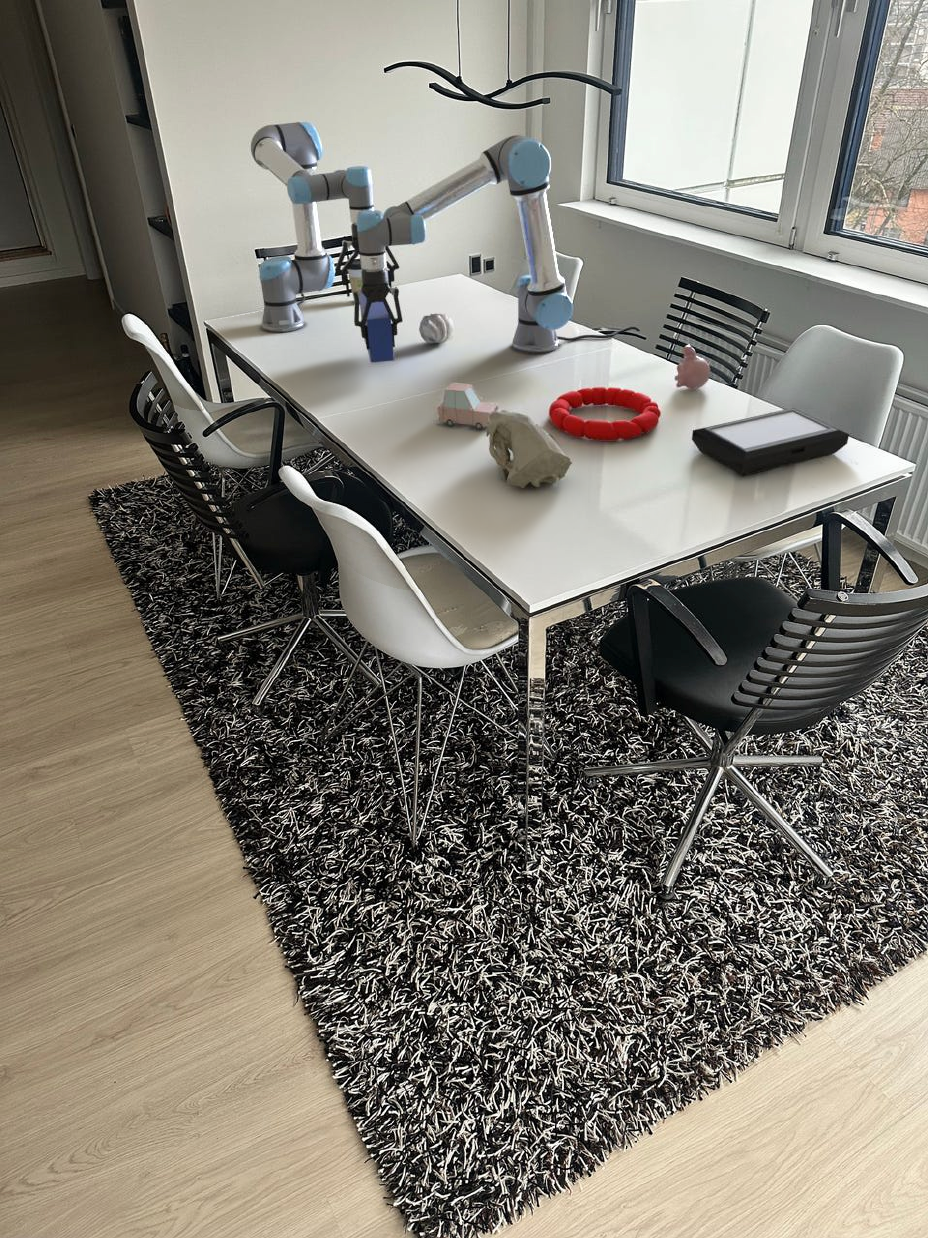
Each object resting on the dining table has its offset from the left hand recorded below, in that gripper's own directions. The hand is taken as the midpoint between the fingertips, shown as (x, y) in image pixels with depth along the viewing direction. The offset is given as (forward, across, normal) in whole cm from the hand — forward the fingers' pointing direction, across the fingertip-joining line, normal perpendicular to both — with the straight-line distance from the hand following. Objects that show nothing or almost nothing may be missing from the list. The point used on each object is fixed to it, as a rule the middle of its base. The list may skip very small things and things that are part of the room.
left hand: (369, 293), depth 286 cm
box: (+14, 0, -12) cm, 18 cm away
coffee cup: (+19, +1, +66) cm, 69 cm away
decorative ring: (+20, +56, -74) cm, 95 cm away
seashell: (+20, +22, +6) cm, 30 cm away
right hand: (+10, 0, -23) cm, 26 cm away
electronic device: (+21, +90, -104) cm, 138 cm away
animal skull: (+21, +27, -99) cm, 105 cm away
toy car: (+20, +20, -66) cm, 72 cm away
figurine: (+20, +88, -56) cm, 107 cm away
